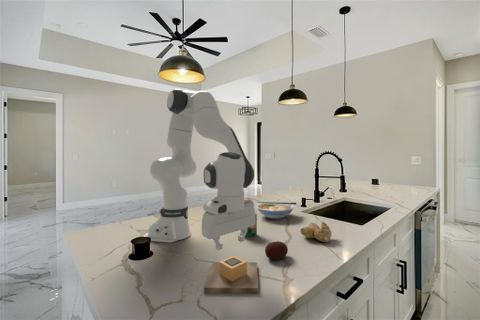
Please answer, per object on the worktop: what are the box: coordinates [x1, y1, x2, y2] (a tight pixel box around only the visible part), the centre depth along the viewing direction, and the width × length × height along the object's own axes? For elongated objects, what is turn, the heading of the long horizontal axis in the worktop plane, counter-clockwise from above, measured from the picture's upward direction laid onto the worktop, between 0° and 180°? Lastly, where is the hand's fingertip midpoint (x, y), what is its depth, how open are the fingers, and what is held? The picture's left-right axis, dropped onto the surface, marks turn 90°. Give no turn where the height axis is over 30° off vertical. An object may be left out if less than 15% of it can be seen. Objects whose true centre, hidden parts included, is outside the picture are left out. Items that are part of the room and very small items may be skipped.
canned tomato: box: [245, 212, 258, 240], centre depth 116 cm, size 8×8×11 cm
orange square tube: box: [218, 255, 248, 281], centre depth 78 cm, size 6×6×4 cm
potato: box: [264, 240, 289, 261], centre depth 92 cm, size 7×10×6 cm
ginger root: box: [299, 221, 333, 243], centre depth 111 cm, size 16×16×8 cm
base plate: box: [203, 259, 259, 294], centre depth 78 cm, size 16×16×6 cm
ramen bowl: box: [256, 201, 297, 220], centre depth 147 cm, size 25×23×8 cm
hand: (230, 244), depth 77 cm, fingers open, 8 cm apart
